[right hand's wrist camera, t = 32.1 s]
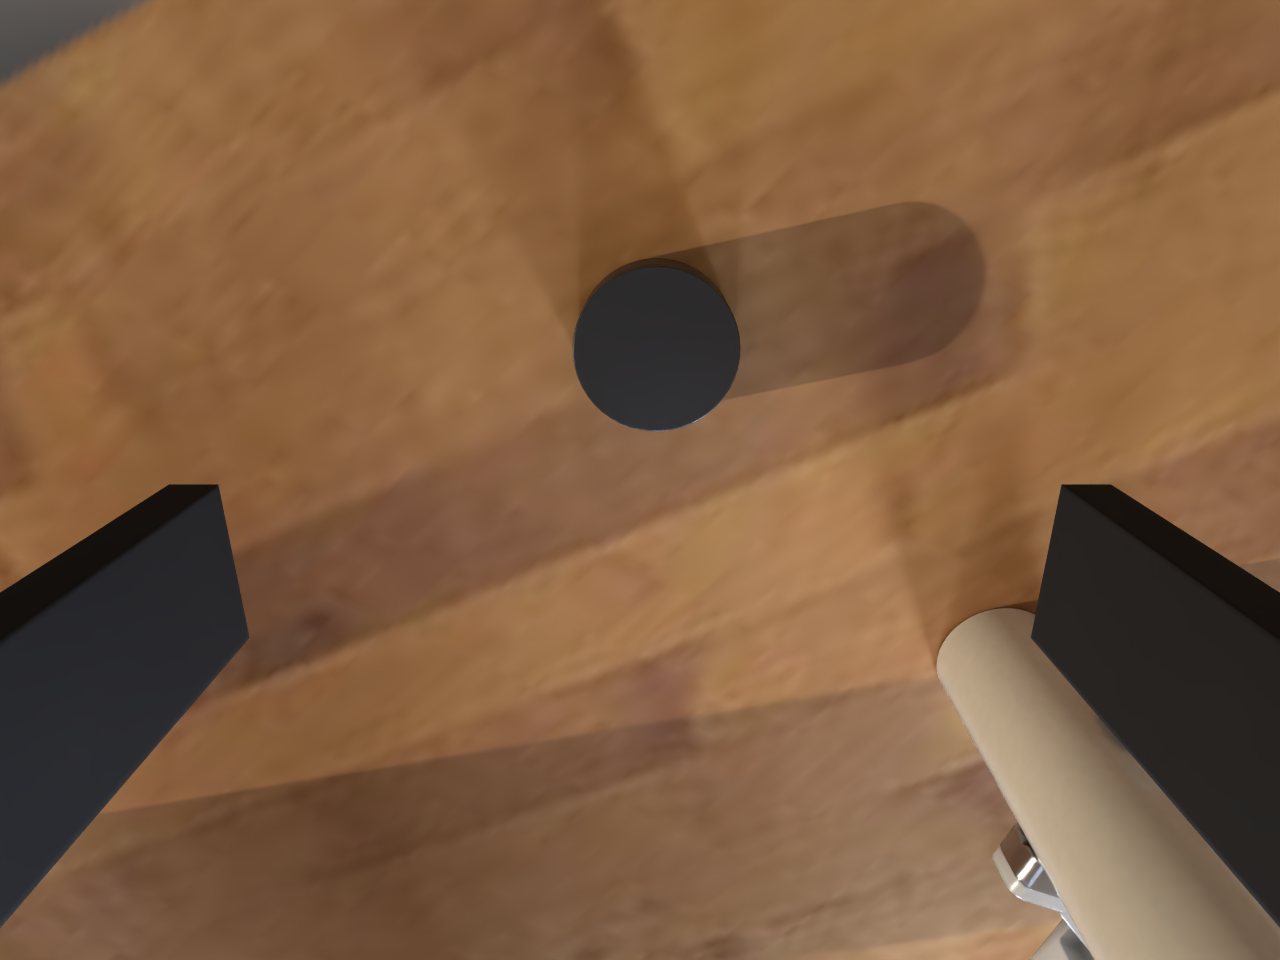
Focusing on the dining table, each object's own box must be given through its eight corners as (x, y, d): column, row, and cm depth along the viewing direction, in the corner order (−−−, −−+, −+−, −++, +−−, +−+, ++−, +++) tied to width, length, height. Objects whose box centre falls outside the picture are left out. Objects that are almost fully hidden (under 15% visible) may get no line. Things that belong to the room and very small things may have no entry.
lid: (607, 431, 26) (604, 451, 25) (555, 287, 25) (548, 297, 23) (751, 387, 26) (759, 404, 24) (708, 235, 24) (713, 241, 22)
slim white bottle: (949, 604, 29) (1385, 1249, 12) (1071, 611, 29) (1681, 1263, 12) (925, 704, 30) (1276, 1395, 13) (1040, 710, 31) (1536, 1408, 13)
